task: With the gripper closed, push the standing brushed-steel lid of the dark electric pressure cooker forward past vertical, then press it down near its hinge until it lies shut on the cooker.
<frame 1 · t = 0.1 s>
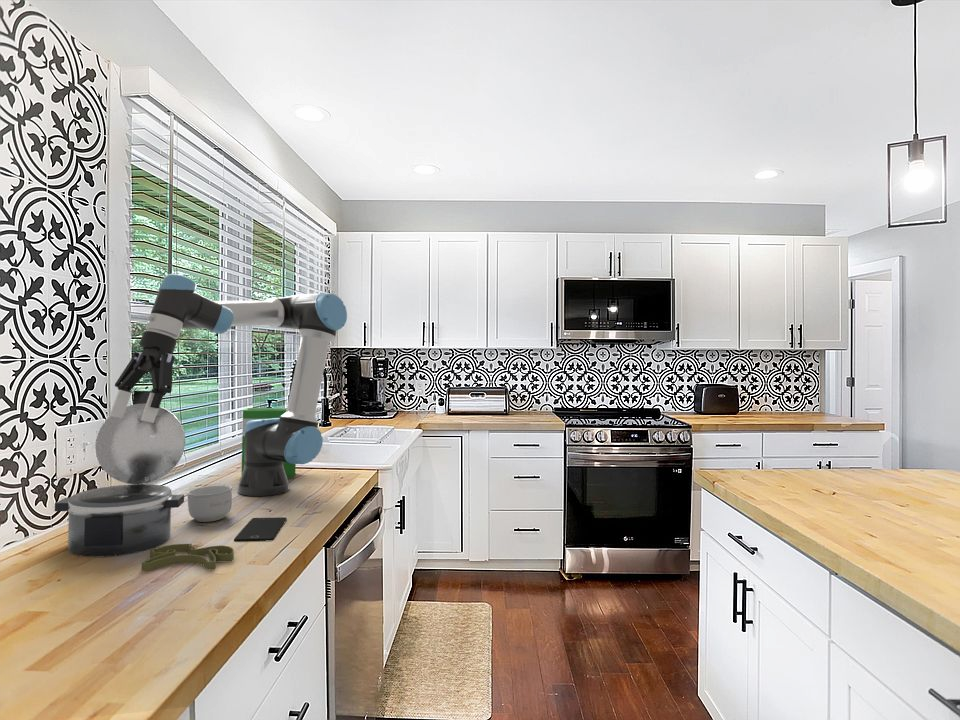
hand: (130, 419, 136), 28 cm above the table, tool tilted 20°, fingers open, 13 cm apart
cell phone: (261, 531, 145), on the table
cookie cutter: (189, 563, 123), on the table
lid: (142, 437, 146), point 22 cm above the table, hinge at 100.0°
teacup: (213, 518, 154), on the table
cooker: (121, 541, 133), on the table
hardback book: (269, 476, 207), on the table
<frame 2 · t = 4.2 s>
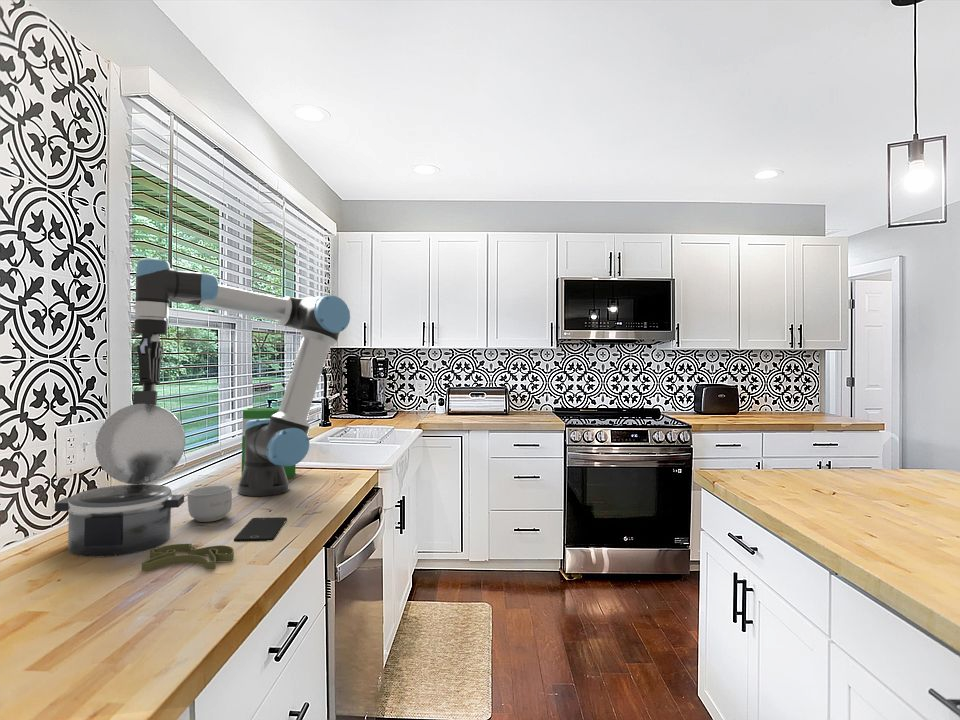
hand: (148, 409, 151), 29 cm above the table, tool pointing down, fingers closed
lid: (142, 437, 146), point 22 cm above the table, hinge at 100.0°, touching gripper
everything else where it was.
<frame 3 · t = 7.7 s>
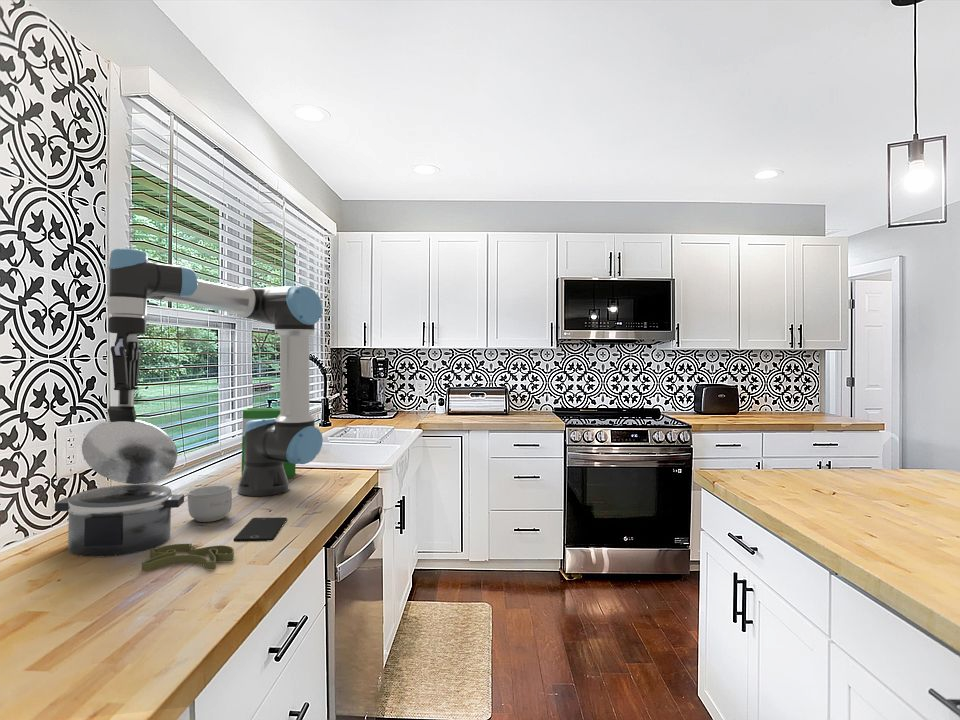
hand: (125, 418, 134), 28 cm above the table, tool pointing down, fingers closed
lid: (129, 446, 137), point 21 cm above the table, hinge at 56.9°, touching gripper
everything else where it was.
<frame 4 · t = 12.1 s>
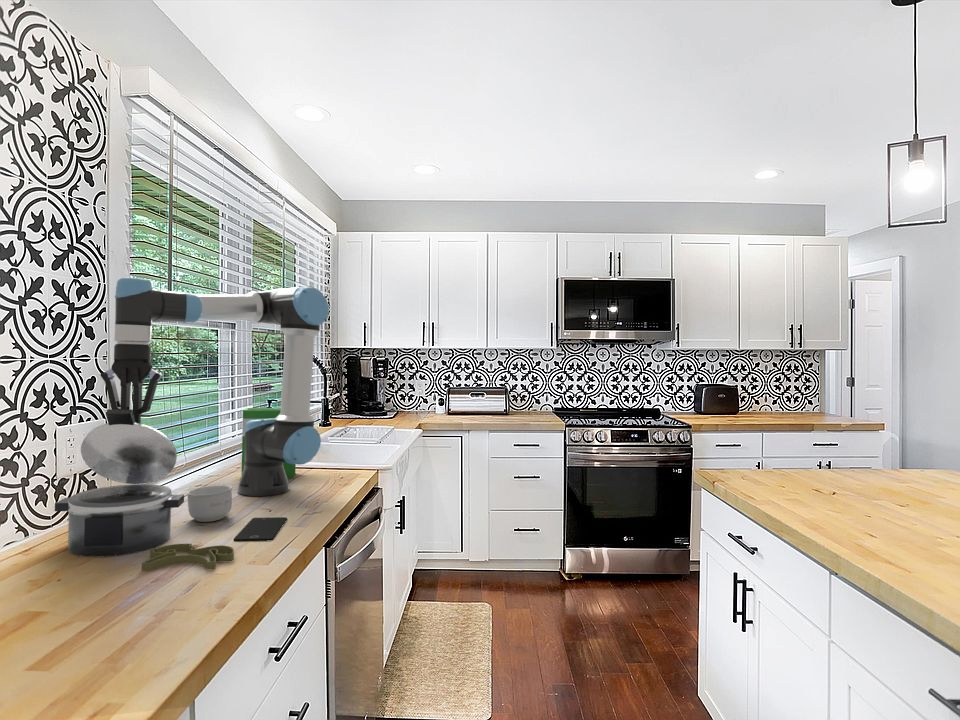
hand: (130, 442, 138), 22 cm above the table, tool pointing down, fingers closed
lid: (129, 448, 137), point 21 cm above the table, hinge at 53.9°
everything else where it was.
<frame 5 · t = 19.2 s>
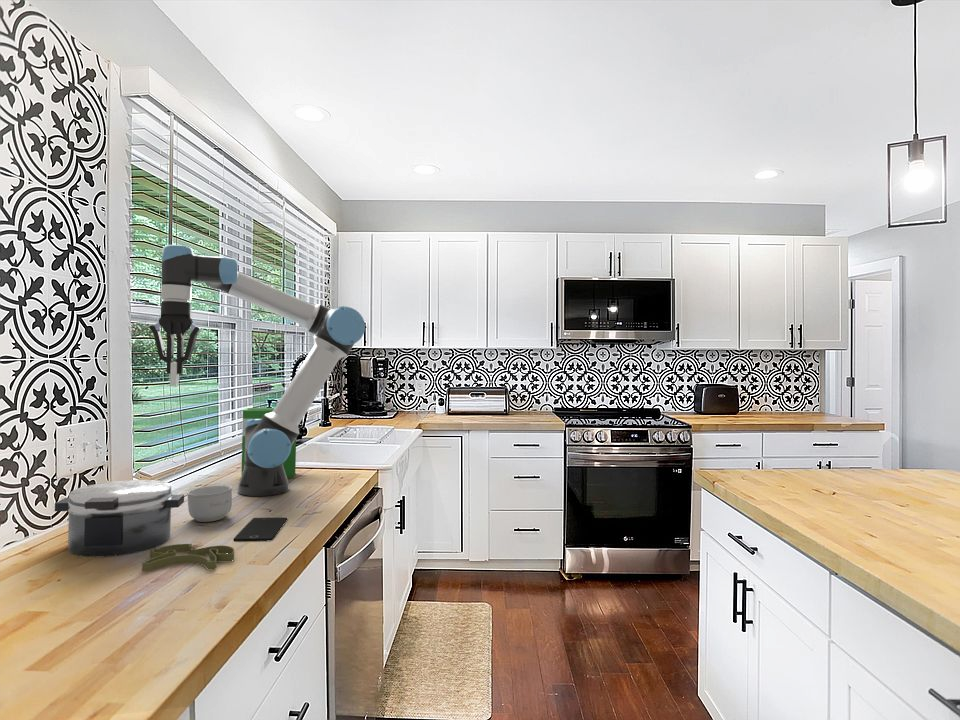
hand: (174, 385, 162), 34 cm above the table, tool pointing down, fingers closed
lid: (119, 492, 132), point 12 cm above the table, hinge at -0.1°
everything else where it was.
at the end: lid at +0° (first picture: +100°) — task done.
